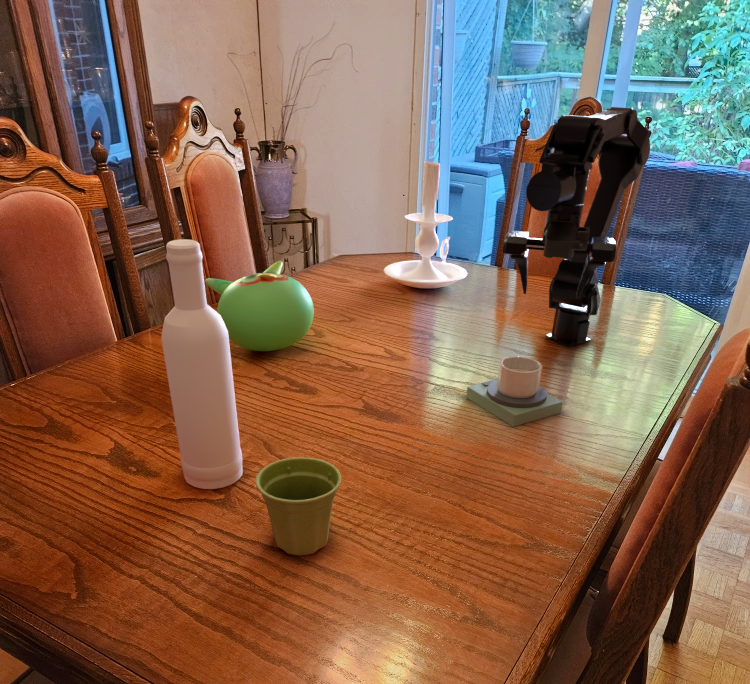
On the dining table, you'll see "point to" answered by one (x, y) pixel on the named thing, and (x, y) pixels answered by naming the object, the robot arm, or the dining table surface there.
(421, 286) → the candlestick
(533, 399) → the scale
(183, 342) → the bottle
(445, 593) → the dining table surface
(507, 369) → the cup
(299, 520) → the plant pot
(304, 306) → the green rounded piece
